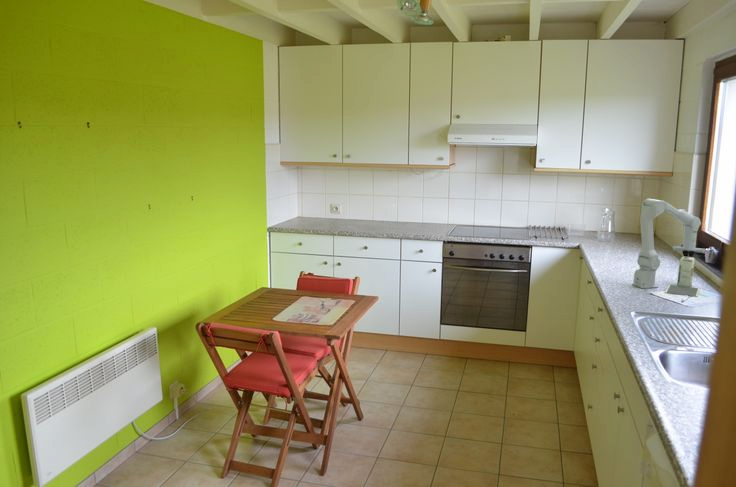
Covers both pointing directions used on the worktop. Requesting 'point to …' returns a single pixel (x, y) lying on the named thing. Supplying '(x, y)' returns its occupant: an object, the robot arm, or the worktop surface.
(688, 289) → the mat
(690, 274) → the syrup box
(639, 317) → the worktop surface
